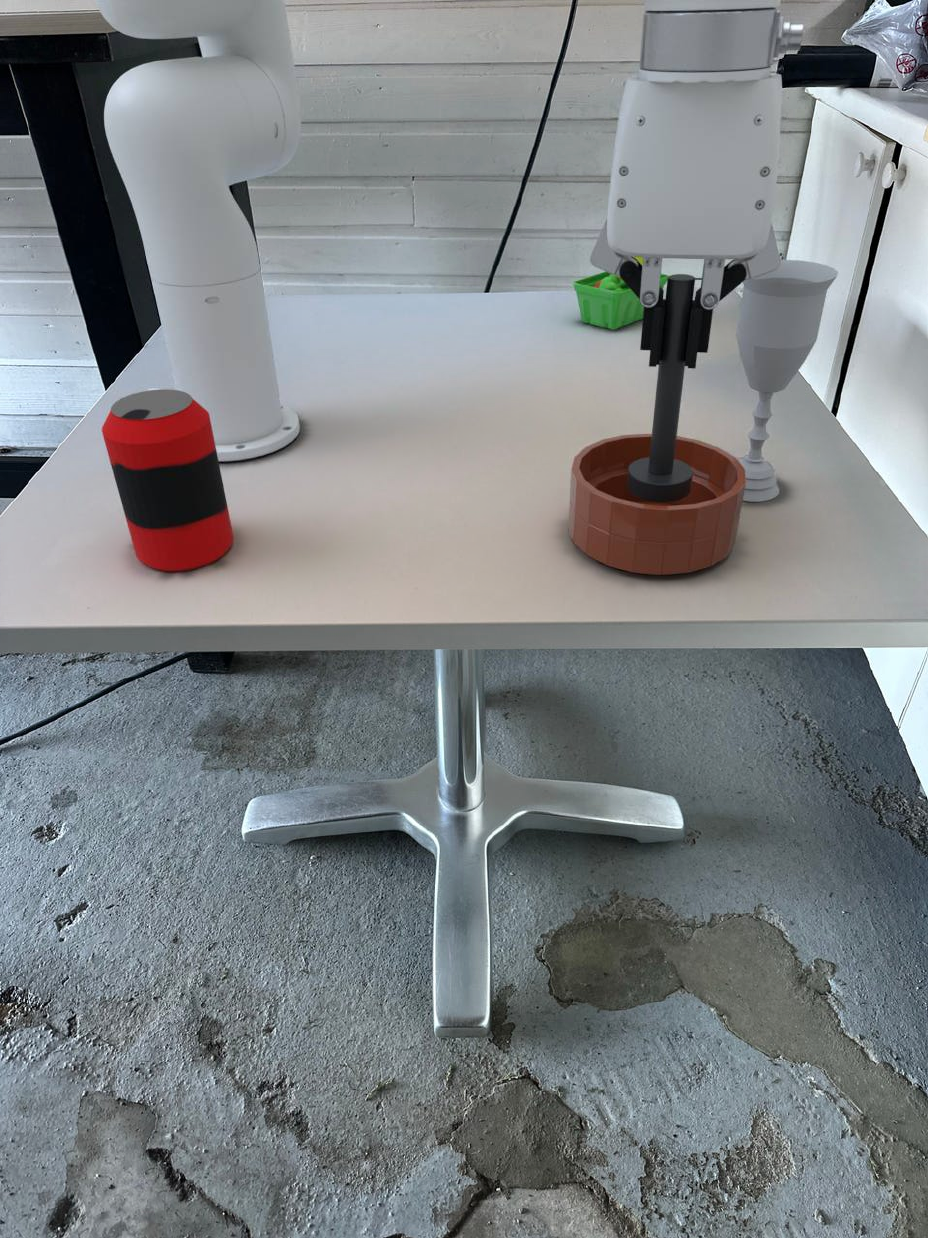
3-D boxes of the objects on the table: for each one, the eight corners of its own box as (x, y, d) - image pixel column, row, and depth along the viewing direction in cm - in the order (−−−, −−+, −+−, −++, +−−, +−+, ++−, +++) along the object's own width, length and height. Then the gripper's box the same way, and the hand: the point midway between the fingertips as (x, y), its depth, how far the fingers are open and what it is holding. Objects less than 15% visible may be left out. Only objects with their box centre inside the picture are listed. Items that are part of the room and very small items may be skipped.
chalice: (740, 514, 73) (781, 288, 63) (690, 481, 78) (719, 267, 68) (809, 494, 76) (859, 275, 65) (756, 464, 81) (794, 255, 70)
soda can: (117, 567, 69) (74, 420, 62) (166, 520, 75) (132, 381, 68) (207, 578, 67) (174, 428, 60) (249, 529, 73) (223, 387, 66)
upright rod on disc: (624, 500, 67) (642, 285, 58) (628, 471, 70) (646, 267, 61) (690, 504, 66) (719, 288, 57) (690, 476, 69) (718, 268, 60)
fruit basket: (620, 303, 122) (627, 214, 115) (675, 315, 117) (686, 223, 110) (567, 322, 115) (572, 229, 109) (624, 337, 110) (632, 240, 104)
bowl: (559, 572, 67) (562, 501, 63) (577, 494, 77) (581, 428, 73) (735, 589, 64) (749, 516, 61) (730, 506, 74) (742, 439, 71)
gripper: (842, 42, 53) (786, 348, 64) (576, 47, 56) (565, 339, 67) (860, 49, 47) (795, 386, 58) (562, 55, 50) (552, 374, 61)
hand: (672, 359), depth 62 cm, fingers closed on upright rod on disc
